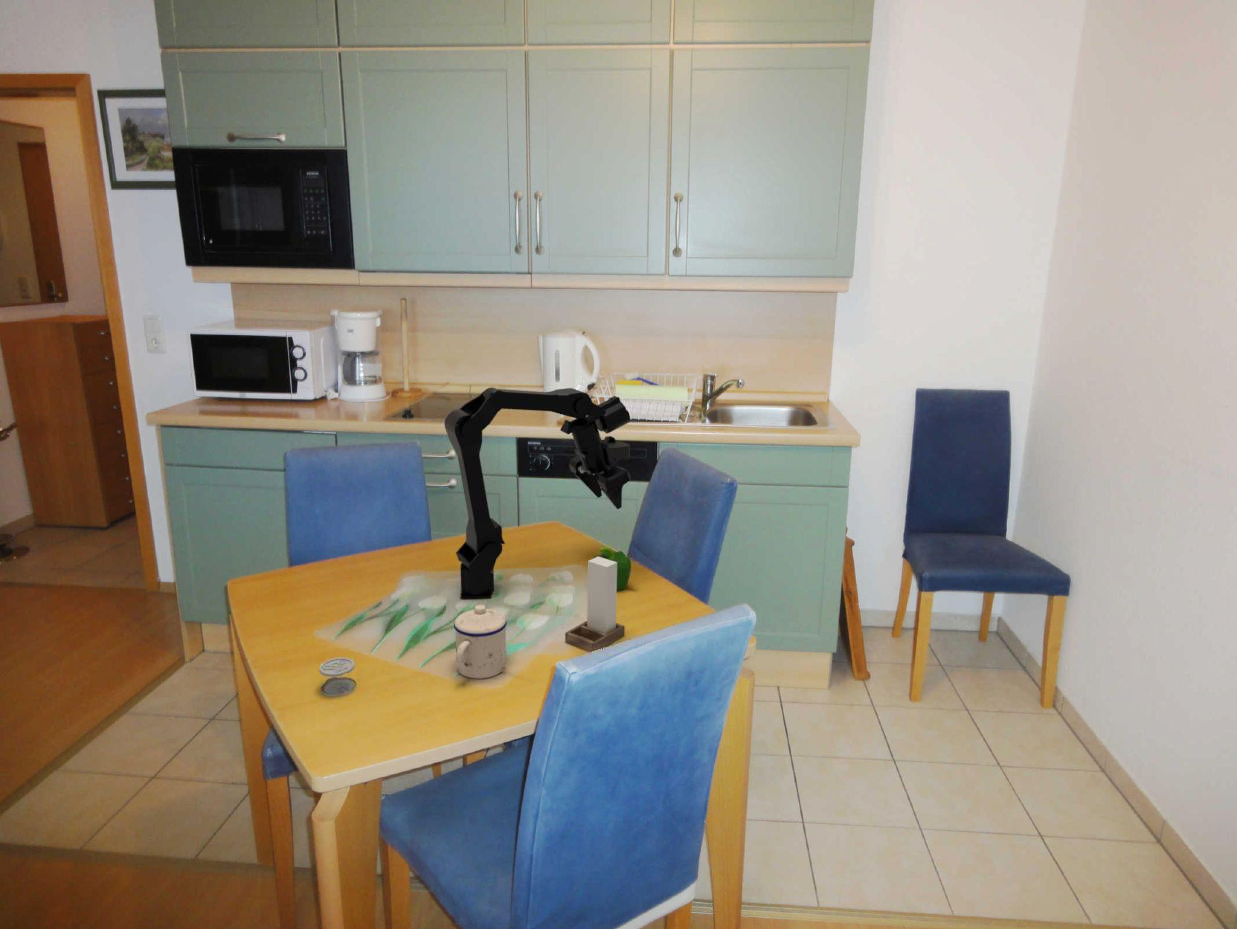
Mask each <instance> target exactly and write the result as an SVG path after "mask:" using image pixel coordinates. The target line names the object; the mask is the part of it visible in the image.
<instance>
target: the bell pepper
mask: <svg viewBox="0 0 1237 929" xmlns="http://www.w3.org/2000/svg"><path fill="white" fill-rule="evenodd" d="M599 550H600V552H601V553H600V554H599V555H594V557H593V558H592V559H594V558H596V557H601V558H605V559H608V560H611V561H614V562H617V592H619V591H624V590H625V589H626V588H627V586H628V584H629V581H630V575H631V572H632V561H631V559H630V557H629V556H627V555H626V554H625V553H624V552H623V551H622V550H620V551H619V550H618V551H614V552H613V549H612V548H609V547H608V546H602V547H600V548H599Z"/></svg>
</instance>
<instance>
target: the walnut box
mask: <svg viewBox="0 0 1237 929" xmlns="http://www.w3.org/2000/svg"><path fill="white" fill-rule="evenodd" d="M625 626H626V625H623V624H620V623H617V622H616V629H615V630H613V631H611V632H610V633H608V634H605V633H602V632H599V631H596V630H594V629H591V628H588V627H587V620H586V621H584V622H582V623H581V624H579V625H577V626H575V627H574V628H571V629H570V630H568V631H566V632H564V633H565V634H564V638H565V640H564V643H565V644H567V645H570V646H572V647H575V648H577V649H580V650H583V651H585V652H587V653H590V652H592V651H595V650H598V649H601V648H603V647H605V648H607V647H609V646H611V645H612V644H613V643H615V642H617V641H618V640H620V639H622V638H624V637H625V635H626V634H625V631H626V630H625V628H626V627H625Z"/></svg>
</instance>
